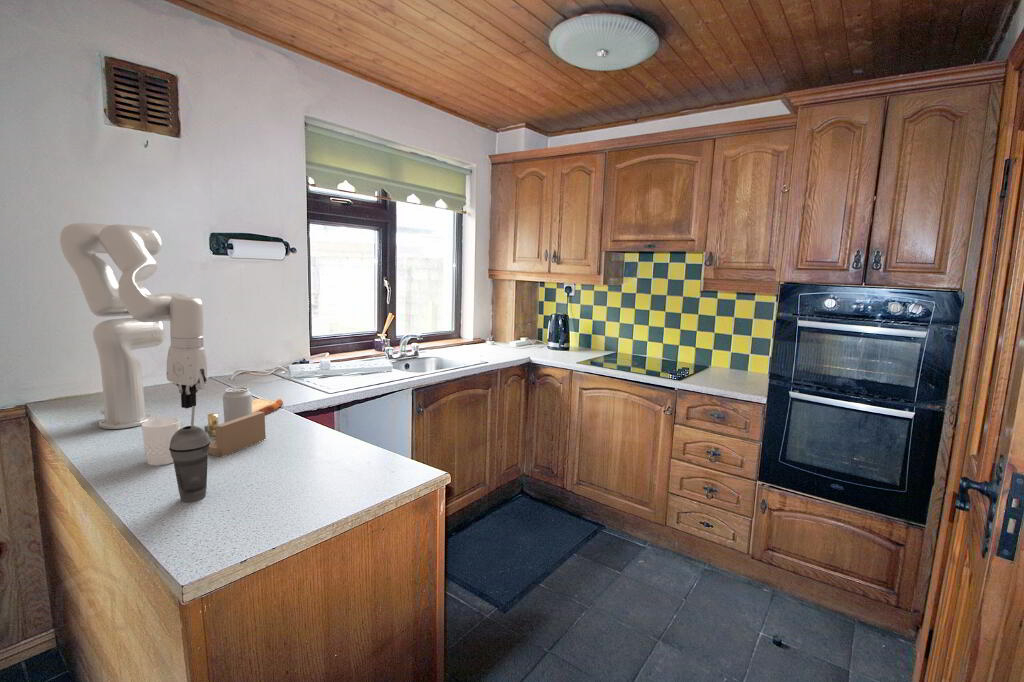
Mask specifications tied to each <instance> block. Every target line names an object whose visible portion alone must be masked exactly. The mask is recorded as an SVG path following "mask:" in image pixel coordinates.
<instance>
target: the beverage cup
mask: <svg viewBox="0 0 1024 682" xmlns="http://www.w3.org/2000/svg"><path fill="white" fill-rule="evenodd" d="M195 410H196V406H192V407H191V418H190V419H191V420H190V423H191V426H186V427H183V428H181V429H179V430H178V431H177V432H176V433H175V434H174V435H173V436H172V438H171V441H170V447H169V450H170V453H171V456H172V458H173V466H174V471H175V472H174V473H175V476H176V477H175V478H176V483H177V489H178V494H179V497H180V501H181V502H183V503H194V502H197V501H200V500H202V499H204V498H205V497H207V496H206V494H207V483H208V463H209V462H208V456H209V454H208V453H209V445H210V441H209V437H208V435H207V433H206V432H205V431H204V430H203V429H201V428H200V427H197V426H194V422H195Z"/></svg>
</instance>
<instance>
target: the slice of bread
mask: <svg viewBox="0 0 1024 682" xmlns="http://www.w3.org/2000/svg"><path fill="white" fill-rule="evenodd" d="M283 404H284V401H283V400H282V399H281V398H277V399H276V400H268V399H265V398H255V399H252V413H255V412H258V411H260V412H265V416H268V415H269V413H270V414H271V413H273V412H275V411H277V410H278V409H280V407H281V406H283Z"/></svg>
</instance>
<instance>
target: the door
mask: <svg viewBox="0 0 1024 682" xmlns="http://www.w3.org/2000/svg"><path fill="white" fill-rule="evenodd" d="M265 416H266V415H265V412H260V411H258V412H255V413H252V414H249V415H246V416H243V417H240V418H237V419H234V420H231V421H228V422H225V423H224V422H223V423H220V424H219V423H218V425H216V426H215V427H216V436H212V435H208V423H200V422H195V421H194V426H197V427H200V428H201V429H203V430H204V431H205V432H206V433H207V435H208V437H209V441H210V445H209V454H208V455H211V454H214V455H213V456H216V455H218V456H217V457H221V456H224V457H226V456H229V455H231V454H233V453H232V452H234V453H236V452H238V451H237V450H239V449H241V450H243V449H242V448H244V449H246V448H248V447H251V446H253V445H256V444H258V443H260V442H259V441H261V442H263V441H265V440H264V439H266V437H267V436H266V417H265ZM186 426H191V422H188V423H186V424H182V425H181V428H183V427H186ZM262 440H263V441H262ZM257 442H258V443H257ZM255 443H256V444H255ZM252 444H253V445H252ZM250 445H251V446H250ZM247 446H248V447H247ZM245 447H246V448H245ZM235 451H236V452H235ZM239 451H240V450H239ZM230 453H231V454H230ZM228 454H229V455H228ZM225 455H226V456H225Z"/></svg>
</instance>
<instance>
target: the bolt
mask: <svg viewBox="0 0 1024 682" xmlns="http://www.w3.org/2000/svg"><path fill="white" fill-rule="evenodd" d="M207 425H208V435H212V436H216V427H215V426H216V425H219V415H218V413H215V412H212V413H211V412H210V413H208V414H207Z"/></svg>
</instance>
